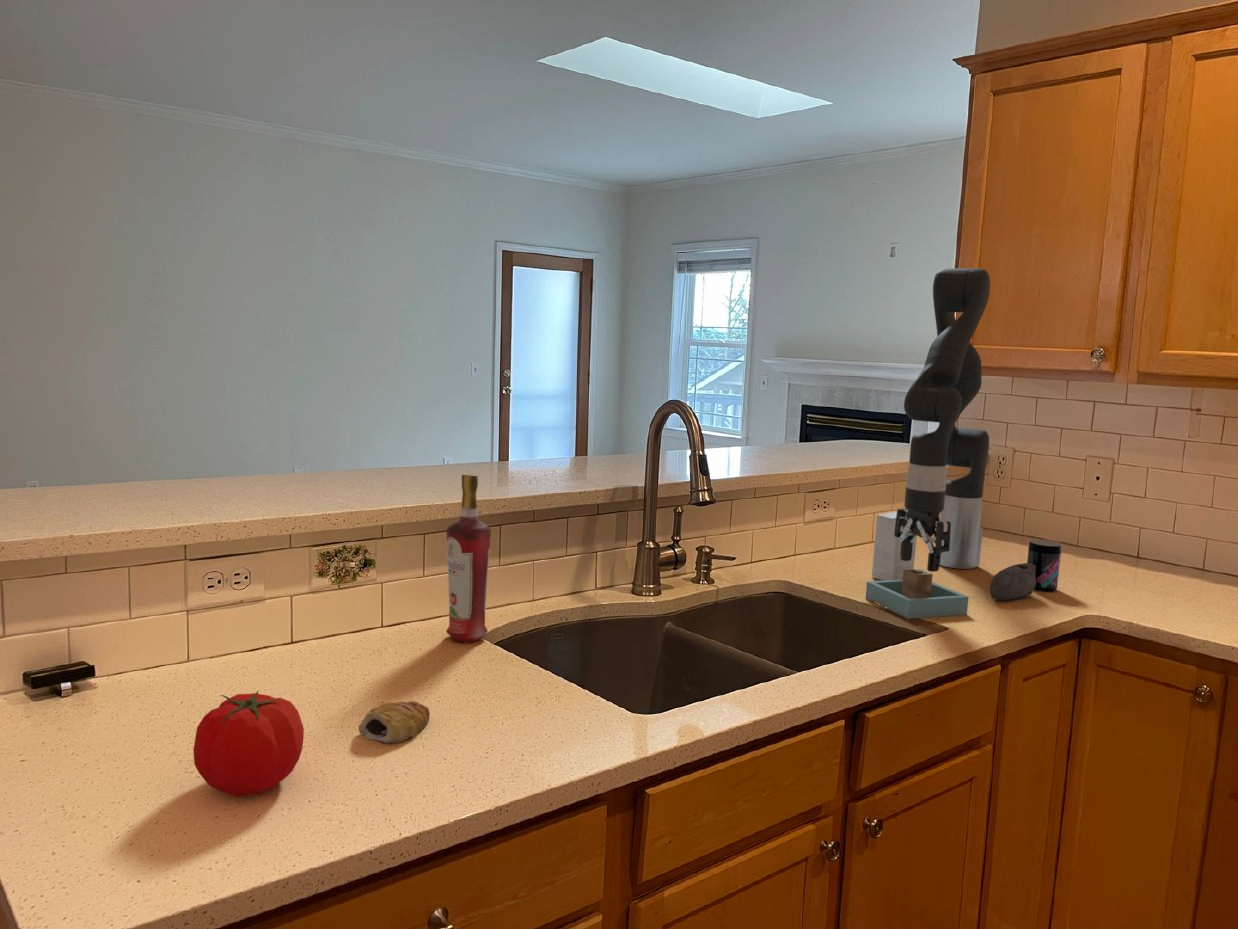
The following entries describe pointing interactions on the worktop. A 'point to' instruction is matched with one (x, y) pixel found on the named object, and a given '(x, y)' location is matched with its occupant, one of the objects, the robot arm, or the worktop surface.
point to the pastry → (394, 721)
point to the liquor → (468, 568)
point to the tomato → (248, 743)
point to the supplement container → (1045, 563)
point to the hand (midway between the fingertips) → (918, 565)
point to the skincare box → (889, 550)
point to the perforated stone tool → (1013, 582)
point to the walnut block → (916, 584)
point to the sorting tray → (917, 600)
